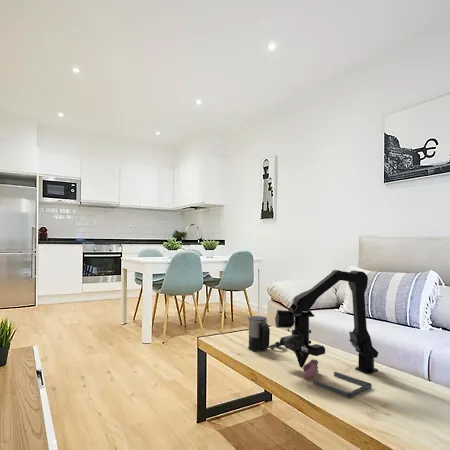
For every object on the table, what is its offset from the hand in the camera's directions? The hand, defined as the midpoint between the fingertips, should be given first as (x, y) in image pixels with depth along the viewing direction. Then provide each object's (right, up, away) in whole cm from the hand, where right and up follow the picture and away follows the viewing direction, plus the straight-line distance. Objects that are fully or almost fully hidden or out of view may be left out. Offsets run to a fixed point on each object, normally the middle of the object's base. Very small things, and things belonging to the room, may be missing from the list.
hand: (301, 367), depth 138 cm
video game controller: (+3, -2, -4) cm, 5 cm away
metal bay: (+11, -1, -14) cm, 18 cm away
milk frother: (-11, -3, +30) cm, 32 cm away
